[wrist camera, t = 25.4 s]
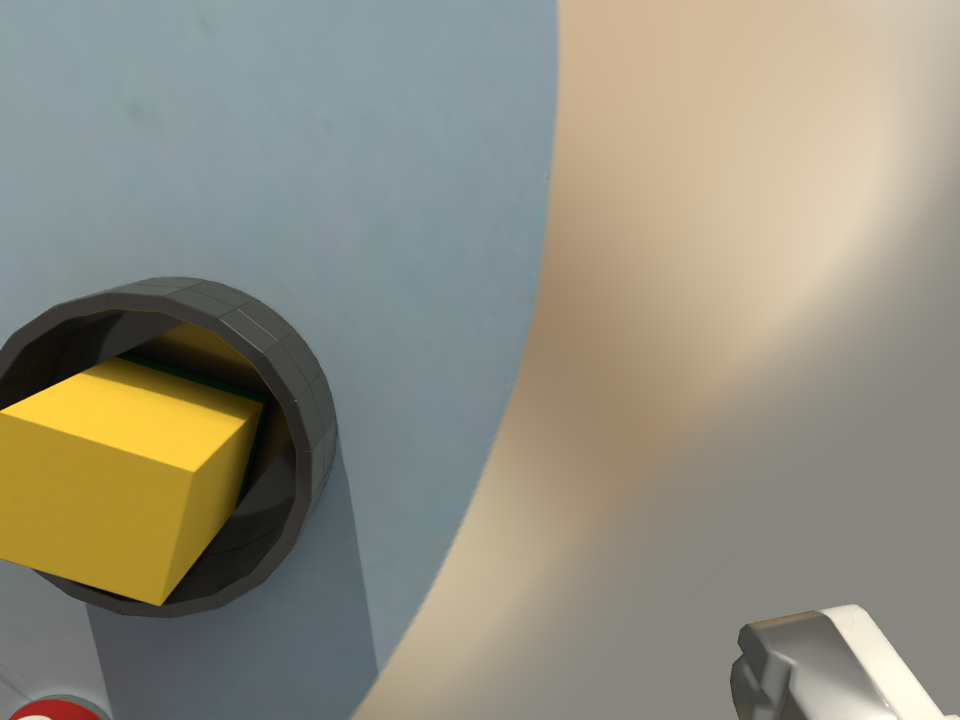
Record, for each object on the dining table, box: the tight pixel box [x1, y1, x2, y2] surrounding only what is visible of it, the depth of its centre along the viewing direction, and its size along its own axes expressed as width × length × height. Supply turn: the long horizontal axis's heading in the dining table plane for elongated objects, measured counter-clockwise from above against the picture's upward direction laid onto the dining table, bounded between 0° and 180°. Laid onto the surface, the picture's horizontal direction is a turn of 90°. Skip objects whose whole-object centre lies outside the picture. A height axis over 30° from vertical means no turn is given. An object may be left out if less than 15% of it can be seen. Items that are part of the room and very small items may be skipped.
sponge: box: [0, 352, 269, 606], centre depth 28 cm, size 6×5×8 cm
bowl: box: [0, 277, 337, 618], centre depth 30 cm, size 12×12×4 cm
